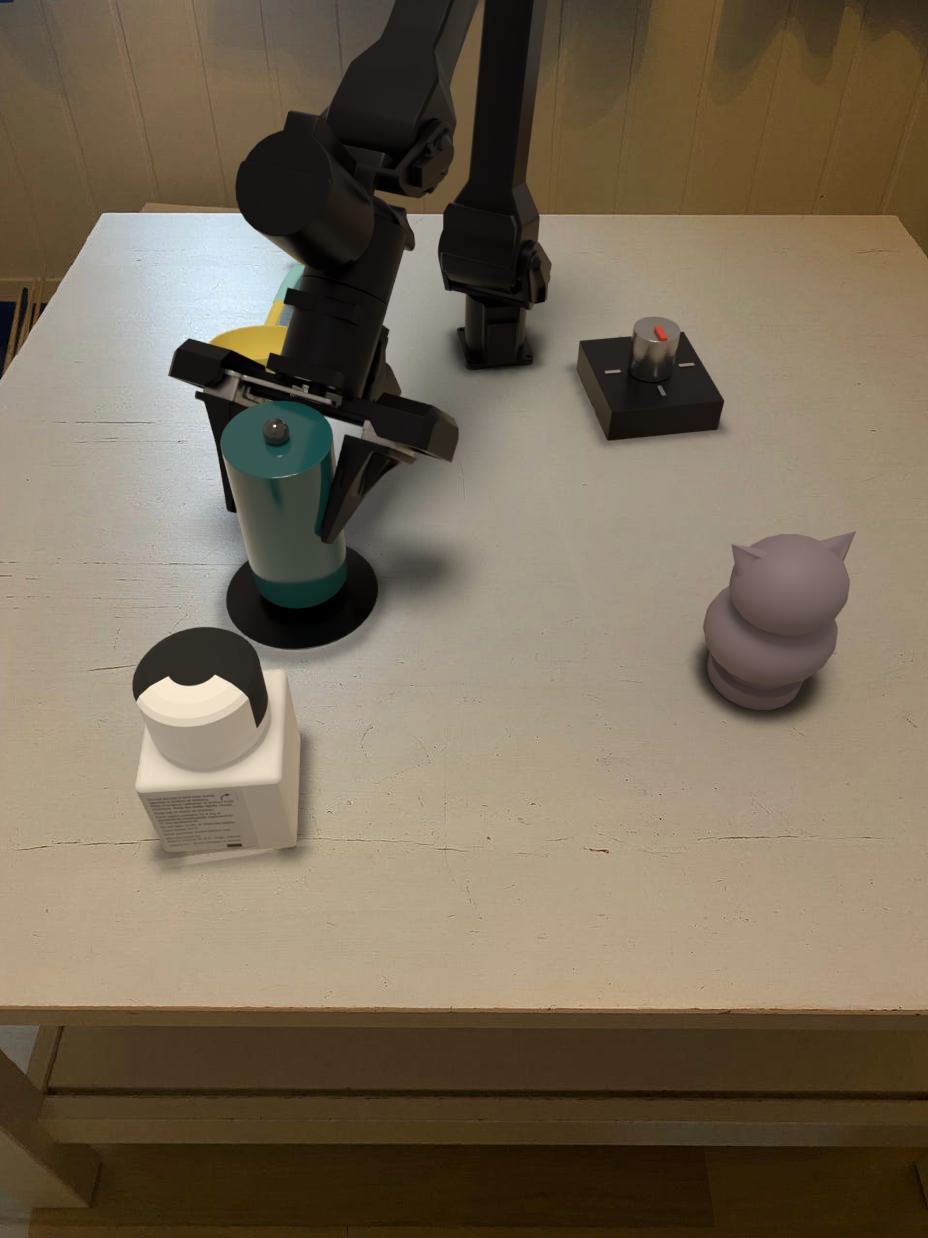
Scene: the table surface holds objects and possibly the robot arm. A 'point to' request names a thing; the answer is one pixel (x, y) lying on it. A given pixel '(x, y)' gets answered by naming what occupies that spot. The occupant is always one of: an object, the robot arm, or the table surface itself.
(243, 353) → the ladle
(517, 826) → the table surface
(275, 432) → the teal lidded canister
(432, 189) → the robot arm
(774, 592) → the cat figurine
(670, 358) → the knob
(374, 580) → the disc
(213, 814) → the container
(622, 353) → the panel
